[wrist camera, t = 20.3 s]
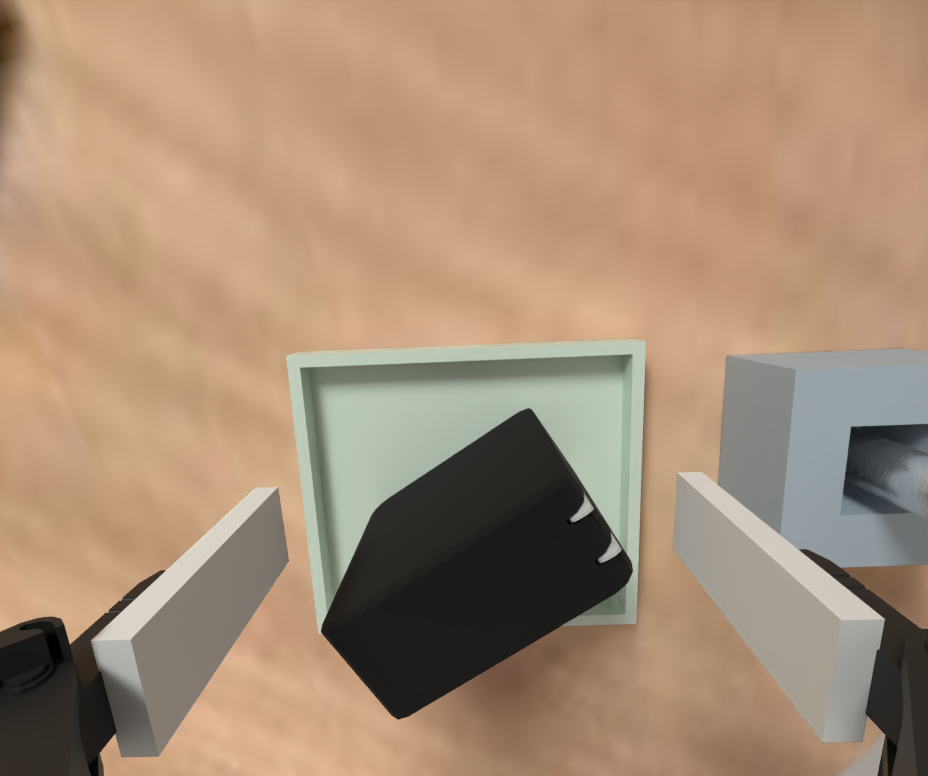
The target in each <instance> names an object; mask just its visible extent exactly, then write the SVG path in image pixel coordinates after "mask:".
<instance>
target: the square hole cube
mask: <svg viewBox="0 0 928 776" xmlns="http://www.w3.org/2000/svg"><path fill="white" fill-rule="evenodd" d="M851 427H853V428H856V429H859V430H861V431H864V432H867V433H870V434H873V435H876V436H879V437H882V438H885V439H888V440H891V441H894V442H897V443H900V444H903V445H905V446H908V447H911V448H914V449H917V450H920V451H923V452H926V453H928V351H923V350H913V349H904V348H902V349H877V350H852V351H827V352H803V353H778V354H753V355H728V356H727V361H726V375H725V390H724V405H723V420H722V435H721V449H720V464H719V479H718V486H720V487H721V488H722V489H723V490H725V491H726V492H727V493H728V494H730V495H731V496H732V497H733V498H735V499H736V500H737V501H738V502H740V503H741V504H742V505H743V506H745V507H746V508H747V509H748V510H750V511H751V512H752V513H753V514H755V515H756V516H757V517H758V518H759V519H761V520H762V521H763V522H764V523H766V524H767V525H768V526H769V527H771V528H772V529H773V530H774V531H776V532H777V533H778V534H779V535H781V536H782V537H783V538H784V539H786V540H787V541H788V542H789V543H791V544H792V545H793V546H794V547H796V548H797V549H808V550H810V551H812V552H814V553H816V554H818V555H820V556H822V557H824V558H826V559H828V560H830V561H832V562H833V563H835V564H836V565H837V566H839V567H840V568H844V567H874V566H904V565H928V521H927V520H925V519H923V518H921V517H919V516H917V515H915V514H913V513H911V512H909V511H907V510H905V509H903V508H901V507H899V506H897V505H895V504H893V503H890V502H888V501H886V500H884V499H882V498H880V497H878V496H876V495H874V494H872V493H870V492H868V491H866V490H864V489H862V488H860V487H858V486H856V485H854V484H852V483H850V482H848V481H846V480H844V479H845V471H846V463H847V455H848V447H849V439H850V430H851Z"/></svg>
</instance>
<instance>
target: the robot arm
mask: <svg viewBox="0 0 928 776" xmlns="http://www.w3.org/2000/svg"><path fill="white" fill-rule="evenodd" d="M673 550H674V551H675V552H676V554H677V555H678V556H679V558H680V559H681V560H682V562H683V563H684V564H685V565H686V567H687V568H688V569H689V571H690V572H691V573H692V574H693V576H694V577H695V578H696V580H697V581H698V582H699V584H700V585H701V586H702V587H703V589H704V590H705V591H706V593H707V594H708V595H709V597H710V598H711V599H712V600H713V602H714V603H715V604H716V606H717V607H718V608H719V610H720V611H721V612H722V613H723V615H724V616H725V617H726V619H727V620H728V621H729V623H730V624H731V625H732V626H733V628H734V629H735V630H736V632H737V633H738V634H739V635H740V637H741V638H742V639H743V641H744V642H745V643H746V645H747V646H748V647H749V648H750V650H751V651H752V652H753V654H754V655H755V656H756V658H757V659H758V660H759V661H760V663H761V664H762V665H763V667H764V668H765V669H766V671H767V672H768V673H769V674H770V676H771V677H772V678H773V680H774V681H775V682H776V684H777V685H778V686H779V687H780V689H781V690H782V691H783V693H784V694H785V695H786V697H787V698H788V699H789V700H790V702H791V703H792V704H793V706H794V707H795V708H796V709H797V711H798V712H799V713H800V715H801V716H802V717H803V719H804V720H805V721H806V722H807V724H808V725H809V726H810V728H811V729H812V730H813V732H814V733H815V734H816V735H817V737H818V738H819V739H820V741H821V742H822V743H834V742H862V741H863V736H864V730H865V725H866V719H867V715H868V717H869V718H870V719H871V720H872V721H873V722H874V723H875V724H876V725H877V726H878V727H879V728H880V730H881V731H882V732H883V733H884V734H885V740H884V745H883V750H882V755H881V761H880V766H879V771H878V776H928V629H920V628H919V627H918V626H916V625H915V624H914V623H912V622H911V621H910V620H908V619H907V618H906V617H904V616H903V615H902V614H900V613H899V612H898V611H896V610H895V609H894V608H893V607H891V606H890V605H889V604H887V603H886V602H885V601H883V600H882V599H881V598H879V597H878V596H877V595H875V594H874V593H873V592H871V591H870V590H866V589H865V586H864V585H862V584H861V583H860V582H858V581H857V580H856V579H854V578H850V575H849V574H848V573H846V572H845V571H844V570H843V569H841V568H840V567H839V566H837V565H836V564H835V563H833V562H832V561H830V560H828V559H826V558H824V557H822V556H820V555H818V554H816V553H814V552H812V551H810V550H808V549H797V548H796V547H794V546H793V545H792V544H791V543H789V542H788V541H787V540H786V539H784V538H783V537H782V536H781V535H779V534H778V533H777V532H776V531H774V530H773V529H772V528H771V527H769V526H768V525H767V524H766V523H764V522H763V521H762V520H761V519H759V518H758V517H757V516H756V515H755V514H753V513H752V512H751V511H750V510H748V509H747V508H746V507H745V506H743V505H742V504H741V503H740V502H738V501H737V500H736V499H735V498H733V497H732V496H731V495H730V494H728V493H727V492H726V491H725V490H723V489H722V488H721V487H720V486H718V485H717V484H716V483H715V482H713V481H712V480H711V479H710V478H708V477H707V476H706V475H705V474H703V473H702V472H684V473H677V489H676V505H675V522H674V538H673ZM288 561H289V559H288V552H287V545H286V538H285V531H284V524H283V517H282V511H281V504H280V497H279V490H278V487H263V488H254V489H253V490H252V491H251V492H250V493H249V494H248V495H247V496H246V497H245V498H244V499H243V500H242V501H241V502H239V503H238V504H237V505H236V506H235V507H234V508H233V509H232V510H231V511H230V512H229V513H228V514H227V515H225V516H224V517H223V518H222V519H221V520H220V521H219V522H218V523H217V524H216V525H215V526H214V527H213V528H211V529H210V530H209V531H208V532H207V533H206V534H205V535H204V536H203V537H202V538H201V539H200V540H199V541H197V542H196V543H195V544H194V545H193V546H192V547H191V548H190V549H189V550H188V551H187V552H186V553H185V554H183V555H182V556H181V557H180V558H179V559H178V560H177V561H176V562H175V563H174V564H173V565H172V566H171V567H169V568H168V569H167V570H162V571H159V572H157V573H156V574H154V575H152V576H151V577H149V578H147V579H145V580H144V581H142V582H140V583H139V584H138V585H136V586H135V587H134V588H133V589H132V590H131V591H130V592H129V593H127V594H126V595H125V596H124V597H123V599H122V601H119V602H117V603H116V604H115V605H114V606H113V607H112V608H111V609H110V610H109V612H108V613H105V614H104V615H103V616H102V617H101V618H99V619H98V620H97V621H96V622H95V623H94V624H93V625H92V626H90V627H89V628H88V629H87V630H86V631H85V632H84V633H83V634H81V635H80V636H79V637H78V638H77V639H76V640H75V641H74V642H73V643H71V644H69V641H68V637H67V633H66V630H65V626H64V623H63V621H62V619H60V618H56V617H43V618H37V619H33V620H30V621H26V622H23V623H20V624H17V625H15V626H13V627H10V628H8V629H6V630H3V631H1V632H0V776H104V770H103V763H102V760H101V756H100V752H101V751H102V749H103V748H104V747H105V746H106V744H107V743H108V742H109V740H110V739H111V738H112V737H113V735H114V734H115V735H116V738H117V742H118V746H119V750H120V754H121V757H154V756H159V755H160V754H161V752H162V751H163V749H164V748H165V746H166V745H167V743H168V742H169V740H170V739H171V737H172V736H173V734H174V733H175V731H176V730H177V728H178V727H179V725H180V724H181V722H182V721H183V719H184V718H185V716H186V715H187V713H188V712H189V710H190V709H191V707H192V706H193V704H194V703H195V701H196V700H197V698H198V697H199V695H200V694H201V692H202V691H203V689H204V688H205V686H206V685H207V683H208V682H209V680H210V679H211V677H212V676H213V674H214V673H215V671H216V670H217V668H218V667H219V665H220V664H221V662H222V661H223V659H224V658H225V656H226V655H227V653H228V652H229V650H230V649H231V647H232V646H233V644H234V643H235V641H236V640H237V638H238V637H239V635H240V634H241V632H242V631H243V629H244V628H245V626H246V625H247V623H248V622H249V620H250V619H251V617H252V616H253V614H254V613H255V611H256V610H257V608H258V607H259V605H260V604H261V602H262V601H263V599H264V598H265V596H266V595H267V593H268V592H269V590H270V589H271V587H272V586H273V584H274V582H275V581H276V579H277V578H278V576H279V575H280V573H281V572H282V570H283V569H284V567H285V566H286V564H287V563H288Z"/></svg>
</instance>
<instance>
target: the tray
mask: <svg viewBox="0 0 928 776" xmlns="http://www.w3.org/2000/svg"><path fill="white" fill-rule="evenodd" d="M645 352H646V341H643V340H638V339H634V338H624V339H599V340H575V341H551V342H526V343H502V344H478V345H453V346H429V347H404V348H380V349H356V350H331V351H307V352H297V353H294V354H291V355H287V356H286V359H287V368H288V376H289V385H290V393H291V402H292V411H293V419H294V428H295V437H296V445H297V454H298V462H299V471H300V480H301V488H302V497H303V505H304V514H305V523H306V531H307V540H308V549H309V557H310V566H311V574H312V583H313V592H314V600H315V609H316V618H317V626H318V634H322V633H321V628H322V624H323V621H324V619H325V617H326V615H327V612H328V610H329V608H330V606H331V604H332V601H333V599H334V597H335V595H336V592H337V590H338V588H339V586H340V584H341V581H342V579H343V577H344V575H345V573H346V570H347V568H348V566H349V564H350V561H351V559H352V557H353V555H354V553H355V550H356V548H357V546H358V544H359V541H360V539H361V537H362V535H363V533H364V530H365V528H366V526H367V524H368V521H369V519H370V517H371V515H372V513H373V512H374V511H375V509H376V508H377V507H378V506H379V505H380V504H381V503H383V502H384V501H385V500H387V499H388V498H389V497H391V496H392V495H394V494H395V493H397V492H398V491H400V490H401V489H403V488H404V487H406V486H407V485H409V484H410V483H412V482H413V481H415V480H416V479H418V478H419V477H421V476H422V475H424V474H426V473H427V472H429V471H430V470H432V469H433V468H435V467H436V466H438V465H439V464H441V463H442V462H444V461H445V460H447V459H448V458H450V457H451V456H453V455H454V454H456V453H457V452H459V451H460V450H462V449H463V448H465V447H466V446H468V445H469V444H471V443H472V442H474V441H475V440H477V439H478V438H480V437H481V436H483V435H484V434H486V433H487V432H489V431H490V430H492V429H493V428H495V427H496V426H498V425H499V424H501V423H502V422H504V421H505V420H507V419H508V418H510V417H511V416H513V415H515V414H516V413H518V412H520V411H522V410H524V409H527V408H530V409H532V410H533V412H534V413H535V414H536V416H537V417H538V419H539V420H540V422H541V423H542V425H543V426H544V428H545V429H546V431H547V432H548V433H549V435H550V436H551V438H552V439H553V441H554V442H555V444H556V445H557V447H558V448H559V450H560V451H561V452H562V454H563V455H564V457H565V458H566V460H567V461H568V463H569V464H570V466H571V467H572V468H573V470H574V471H575V473H576V475H577V476H578V478H579V479H580V481H581V482H582V484H583V486H584V487H585V489H586V490H587V492H588V494H589V495H590V497H591V498H592V500H593V501H594V503H595V505H596V506H597V508H598V509H599V511H600V512H601V514H602V516H603V517H604V519H605V520H606V522H607V524H608V525H609V527H610V528H611V530H612V531H613V533H614V535H615V536H616V538H617V539H618V541H619V542H620V544H621V546H622V547H623V549H624V550H625V552H626V554H627V555H628V557H629V558H630V560H631V562H632V567H633V573H632V575H631V577H630V580H629V582H628V584H626V585H625V586H624V587H623V588H622V589H621V590H620V591H619V592H617V593H616V594H615V595H613V596H611V597H609V598H608V599H606V600H604V601H603V602H601V603H599V604H598V605H596V606H594V607H593V608H591V609H589V610H587V611H586V612H584V613H582V614H581V615H579V616H577V617H576V618H574V619H572V620H571V621H569V622H567V623H565V624H564V625H562V626H588V625H620V624H636V619H637V590H638V560H639V530H640V501H641V471H642V441H643V411H644V382H645Z"/></svg>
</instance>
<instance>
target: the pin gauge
mask: <svg viewBox="0 0 928 776" xmlns="http://www.w3.org/2000/svg"><path fill="white" fill-rule="evenodd" d="M844 480H846V481H848V482H850V483H852V484H854V485H856V486H858V487H860V488H862V489H864V490H866V491H868V492H870V493H872V494H874V495H876V496H878V497H880V498H882V499H884V500H886V501H888V502H890V503H893V504H895V505H897V506H899V507H901V508H903V509H905V510H907V511H909V512H911V513H913V514H915V515H917V516H919V517H921V518H923V519H925V520H927V521H928V453H926V452H923V451H920V450H917V449H914V448H911V447H908V446H905V445H903V444H900V443H897V442H894V441H891V440H888V439H885V438H882V437H879V436H876V435H873V434H870V433H867V432H864V431H861V430H859V429H856V428H853V427H851V430H850V439H849V447H848V455H847V463H846V471H845V479H844Z"/></svg>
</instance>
